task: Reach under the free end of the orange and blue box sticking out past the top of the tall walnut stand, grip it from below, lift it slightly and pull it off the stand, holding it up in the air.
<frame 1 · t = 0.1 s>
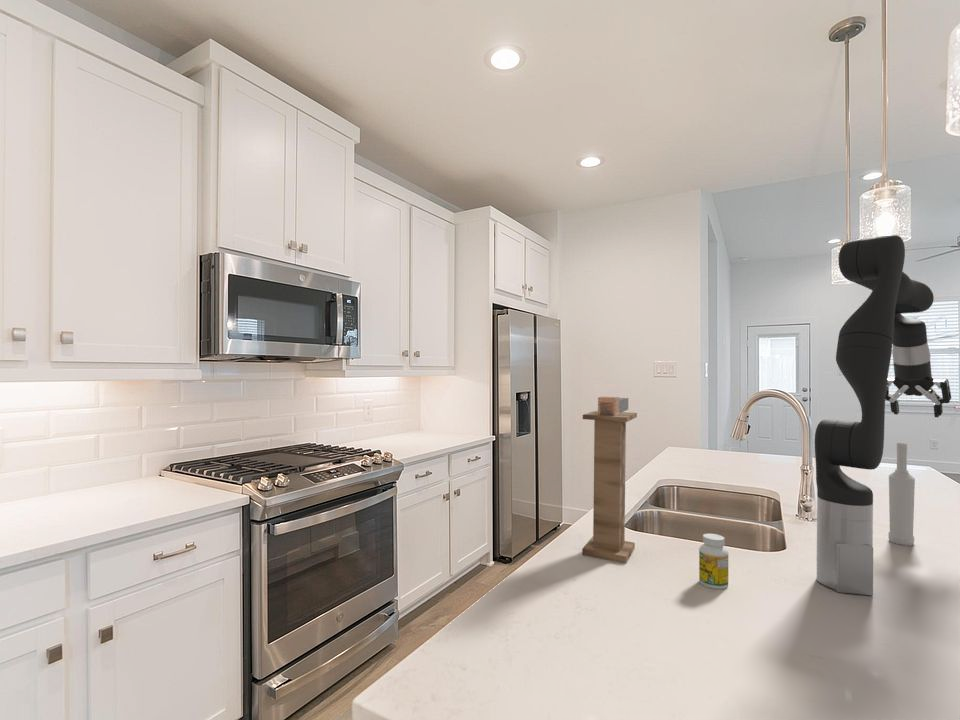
hand: (916, 414, 138), 32 cm above the countertop, tool tilted 20°, fingers open, 8 cm apart
orange and blue box: (614, 412, 124), point 32 cm above the countertop, touching stand
supplement bottle: (713, 585, 102), on the countertop
stand: (608, 551, 119), on the countertop
bottle: (901, 543, 129), on the countertop
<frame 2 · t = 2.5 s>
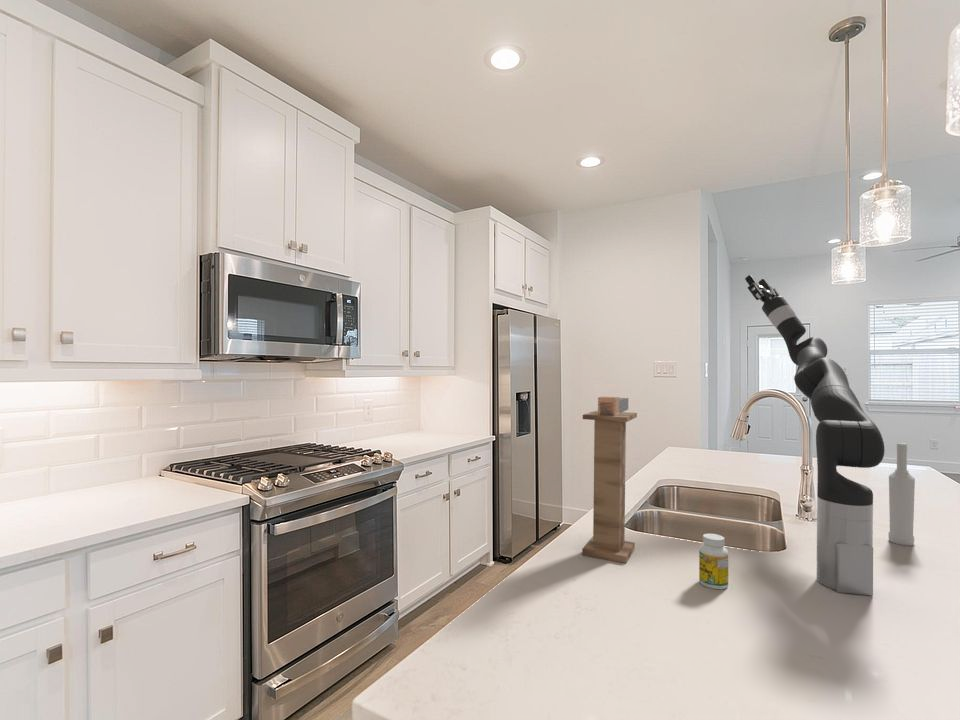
hand: (754, 278, 183), 76 cm above the countertop, tool pointing upward, fingers open, 8 cm apart
nothing on the countertop moved.
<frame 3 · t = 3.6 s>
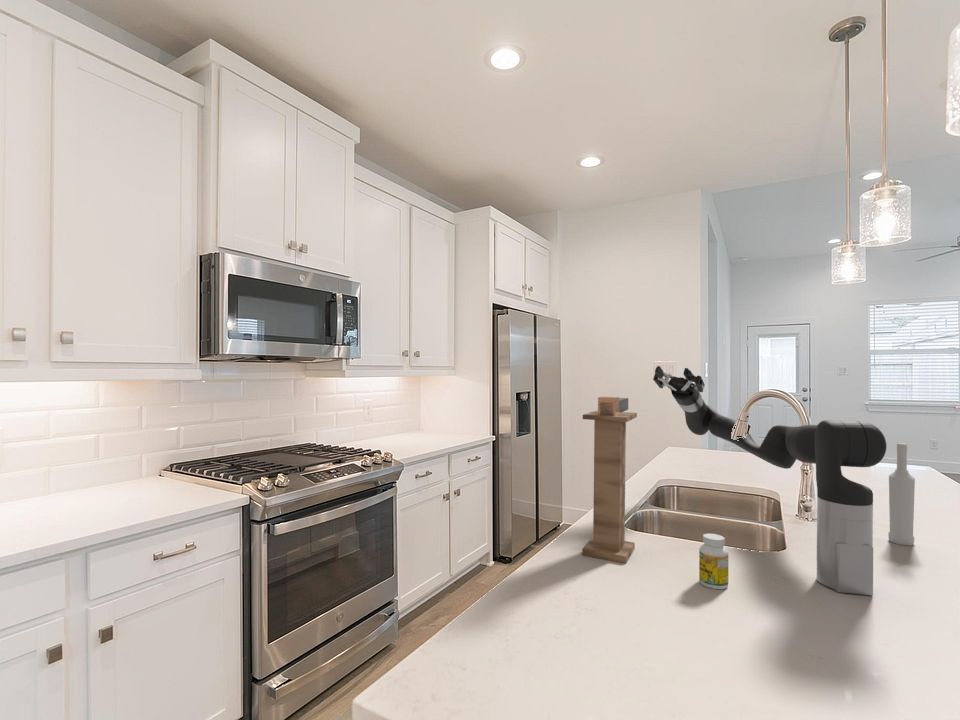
hand: (671, 369, 152), 43 cm above the countertop, tool pointing upward, fingers open, 8 cm apart
nothing on the countertop moved.
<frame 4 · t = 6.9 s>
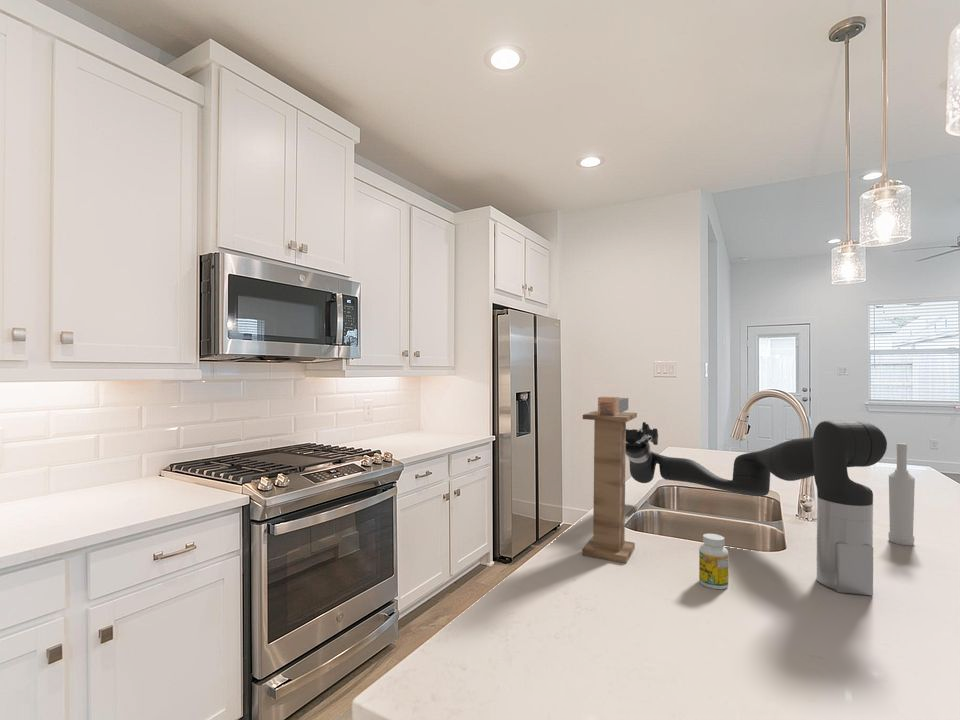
hand: (627, 424, 138), 28 cm above the countertop, tool pointing upward, fingers open, 8 cm apart
nothing on the countertop moved.
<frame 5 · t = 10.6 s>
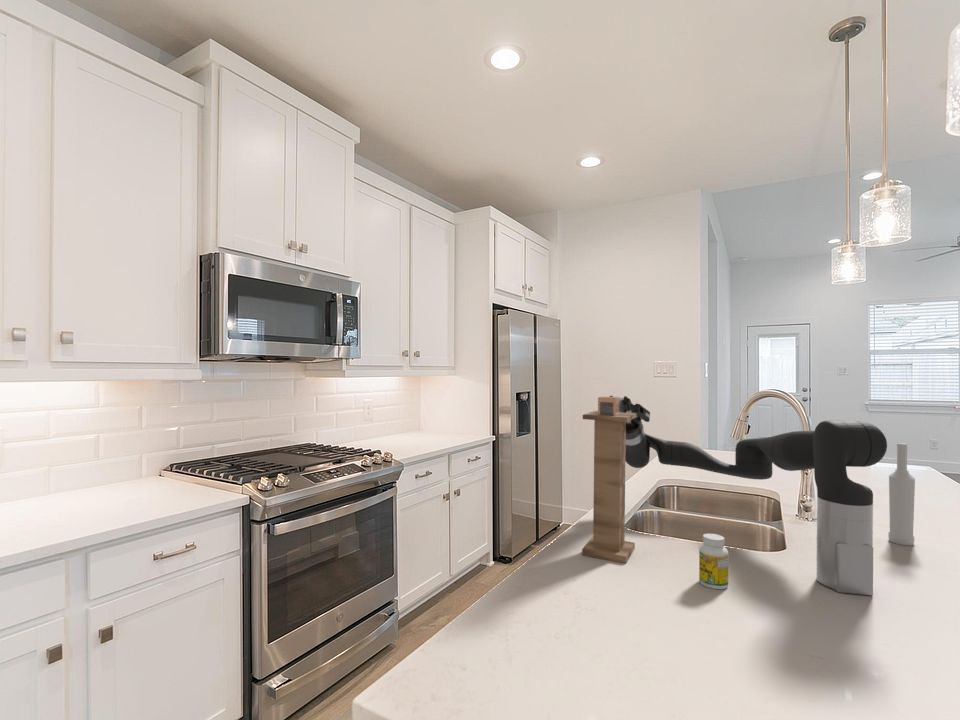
hand: (617, 399, 127), 35 cm above the countertop, tool pointing upward, fingers closed on orange and blue box, 3 cm apart
orange and blue box: (615, 412, 124), point 33 cm above the countertop, touching gripper
everything else where it was.
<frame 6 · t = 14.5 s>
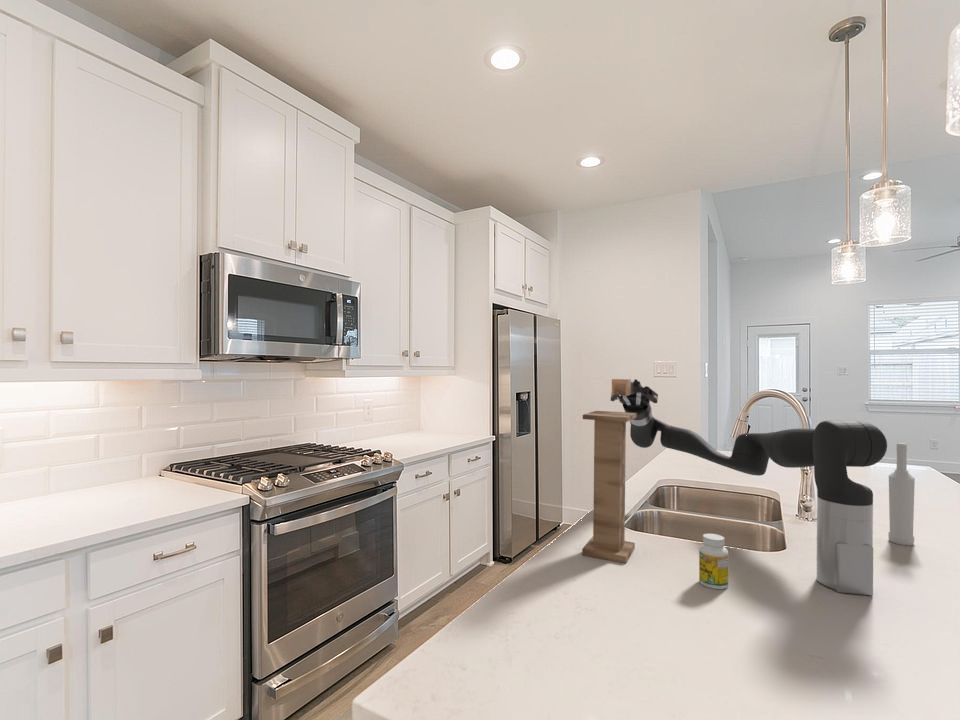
hand: (628, 382, 139), 39 cm above the countertop, tool pointing upward, fingers closed on orange and blue box, 3 cm apart
orange and blue box: (626, 393, 136), point 36 cm above the countertop, touching gripper
everything else where it was.
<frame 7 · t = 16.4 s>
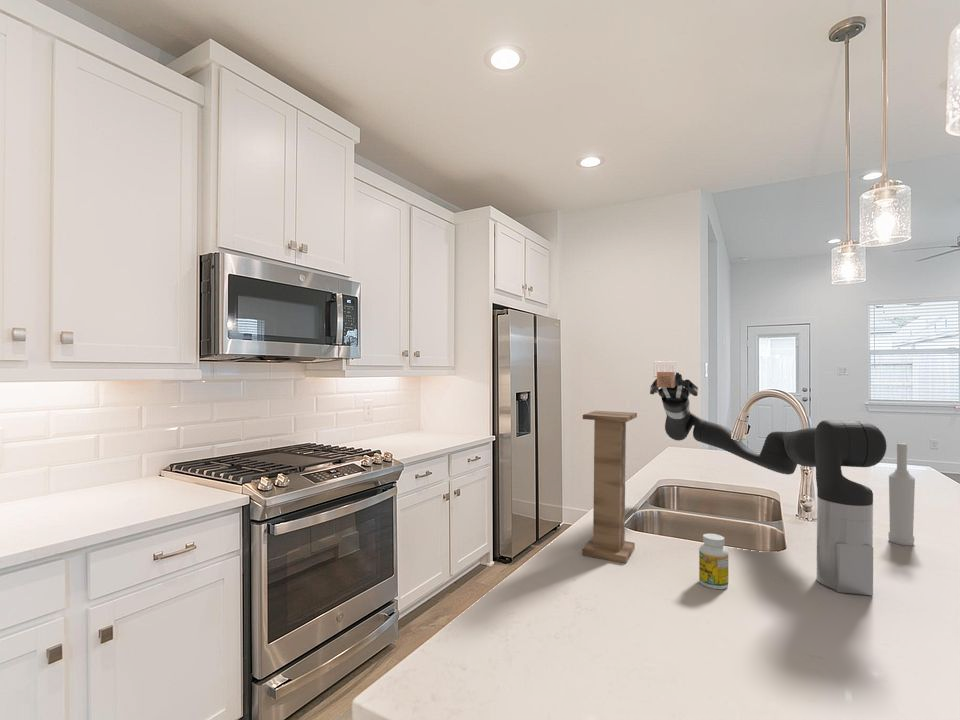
hand: (670, 375, 142), 41 cm above the countertop, tool pointing upward, fingers closed on orange and blue box, 3 cm apart
orange and blue box: (669, 386, 139), point 38 cm above the countertop, touching gripper
everything else where it was.
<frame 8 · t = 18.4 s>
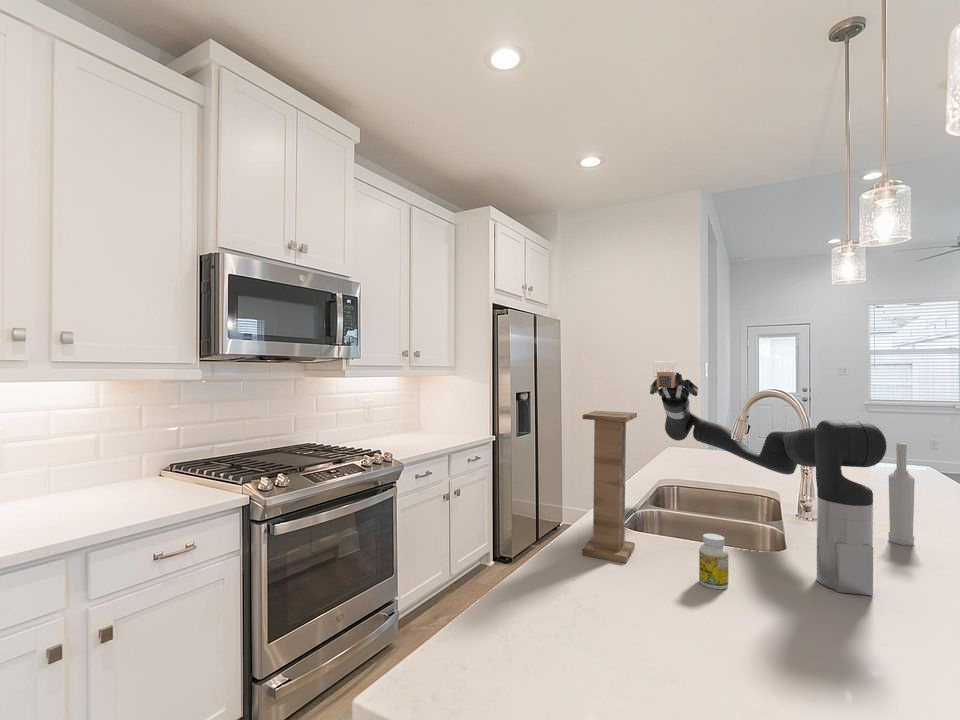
hand: (670, 375, 142), 41 cm above the countertop, tool pointing upward, fingers closed on orange and blue box, 3 cm apart
orange and blue box: (669, 386, 139), point 38 cm above the countertop, touching gripper
everything else where it was.
at the end: orange and blue box touching gripper; orange and blue box moved 25.0 cm from its start; orange and blue box point 38.4 cm above the countertop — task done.
